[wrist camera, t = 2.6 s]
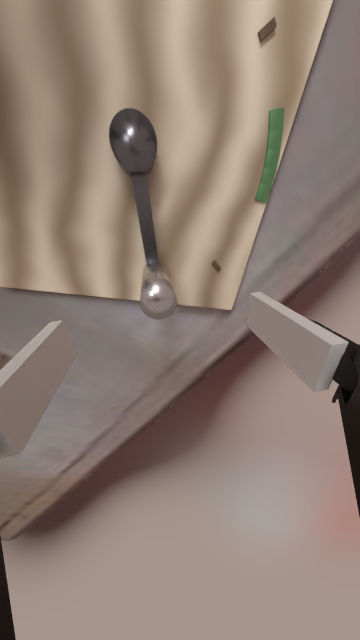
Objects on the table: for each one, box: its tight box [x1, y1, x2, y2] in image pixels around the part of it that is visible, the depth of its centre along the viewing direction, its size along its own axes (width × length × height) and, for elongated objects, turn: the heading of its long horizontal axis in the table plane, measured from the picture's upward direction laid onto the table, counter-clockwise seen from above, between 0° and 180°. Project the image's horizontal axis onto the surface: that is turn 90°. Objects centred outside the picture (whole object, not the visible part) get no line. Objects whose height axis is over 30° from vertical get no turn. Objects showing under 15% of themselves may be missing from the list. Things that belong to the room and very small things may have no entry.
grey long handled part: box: [109, 108, 177, 319], centre depth 17 cm, size 17×4×11 cm, turn 5°
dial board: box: [0, 0, 333, 310], centre depth 20 cm, size 34×34×2 cm
